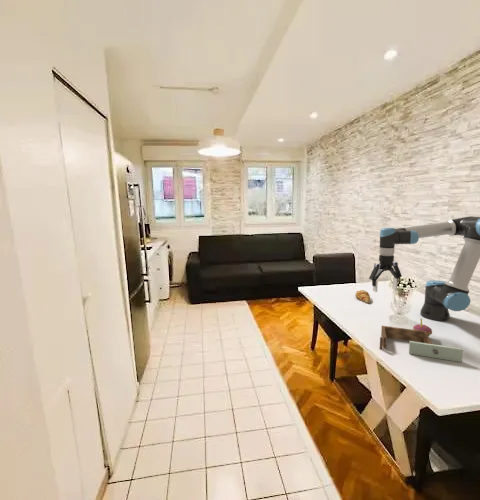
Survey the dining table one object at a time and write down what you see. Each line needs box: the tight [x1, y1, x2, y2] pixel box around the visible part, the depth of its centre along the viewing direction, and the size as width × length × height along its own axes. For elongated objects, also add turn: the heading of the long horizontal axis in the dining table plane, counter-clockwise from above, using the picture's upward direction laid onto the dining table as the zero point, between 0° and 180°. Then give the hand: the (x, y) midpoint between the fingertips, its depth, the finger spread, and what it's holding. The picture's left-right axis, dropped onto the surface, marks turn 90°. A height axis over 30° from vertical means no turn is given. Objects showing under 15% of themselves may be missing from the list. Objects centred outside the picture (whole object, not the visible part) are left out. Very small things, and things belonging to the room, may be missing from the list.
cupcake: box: [412, 318, 433, 337], centre depth 143 cm, size 9×8×12 cm
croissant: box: [355, 289, 371, 304], centre depth 205 cm, size 21×10×8 cm, turn 177°
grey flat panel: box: [408, 341, 464, 363], centre depth 124 cm, size 20×3×6 cm, turn 66°
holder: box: [379, 325, 433, 350], centre depth 136 cm, size 22×16×6 cm
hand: (384, 290), depth 157 cm, fingers open, 13 cm apart
